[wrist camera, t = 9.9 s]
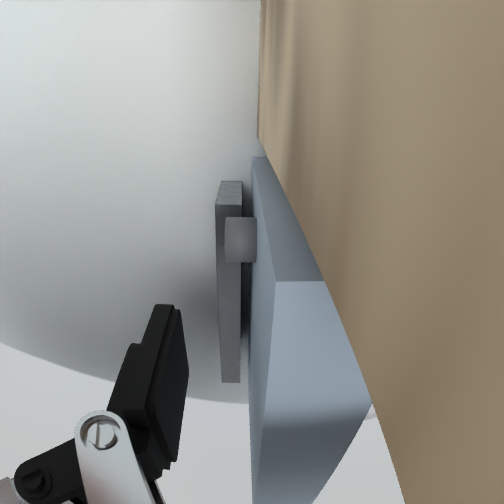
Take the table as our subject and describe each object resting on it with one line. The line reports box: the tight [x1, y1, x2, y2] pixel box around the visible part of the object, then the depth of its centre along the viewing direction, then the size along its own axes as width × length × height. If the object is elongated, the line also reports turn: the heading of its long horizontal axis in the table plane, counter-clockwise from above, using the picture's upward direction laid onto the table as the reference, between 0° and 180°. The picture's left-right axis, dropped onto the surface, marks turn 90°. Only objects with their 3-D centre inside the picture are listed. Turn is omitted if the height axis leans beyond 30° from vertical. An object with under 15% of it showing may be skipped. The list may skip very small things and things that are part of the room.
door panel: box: [225, 157, 372, 504], centre depth 10 cm, size 10×3×9 cm, turn 179°
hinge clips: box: [215, 181, 242, 383], centre depth 13 cm, size 8×5×3 cm, turn 179°
